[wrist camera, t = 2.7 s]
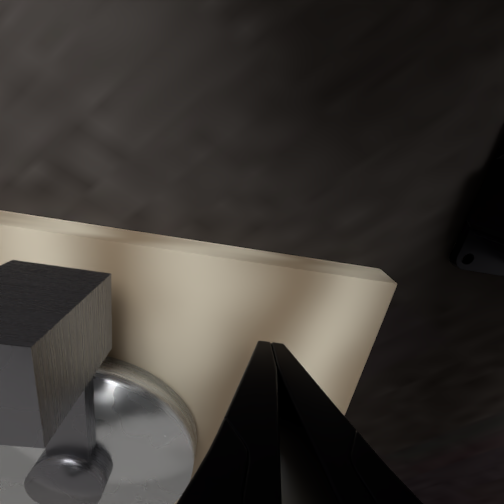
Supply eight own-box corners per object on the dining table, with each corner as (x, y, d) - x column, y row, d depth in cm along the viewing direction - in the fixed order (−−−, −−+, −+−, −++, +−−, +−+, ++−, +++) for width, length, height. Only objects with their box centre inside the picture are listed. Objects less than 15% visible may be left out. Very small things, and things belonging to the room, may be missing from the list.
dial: (187, 505, 15) (164, 652, 11) (-3, 492, 14) (-114, 646, 10) (221, 273, 10) (205, 367, 6) (-68, 231, 9) (-351, 304, 5)
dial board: (379, 268, 12) (400, 286, 11) (285, 523, 19) (289, 557, 17) (-220, 176, 10) (-306, 181, 9) (-85, 499, 17) (-119, 535, 15)
